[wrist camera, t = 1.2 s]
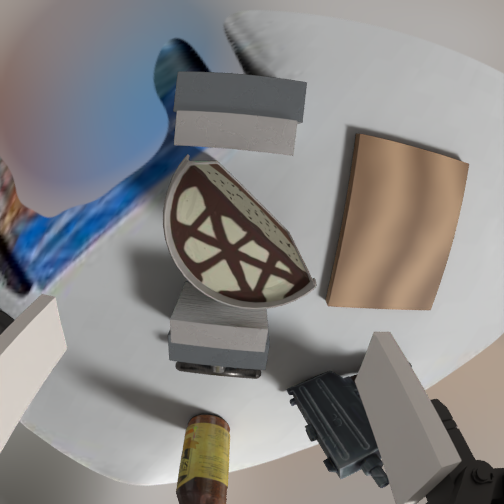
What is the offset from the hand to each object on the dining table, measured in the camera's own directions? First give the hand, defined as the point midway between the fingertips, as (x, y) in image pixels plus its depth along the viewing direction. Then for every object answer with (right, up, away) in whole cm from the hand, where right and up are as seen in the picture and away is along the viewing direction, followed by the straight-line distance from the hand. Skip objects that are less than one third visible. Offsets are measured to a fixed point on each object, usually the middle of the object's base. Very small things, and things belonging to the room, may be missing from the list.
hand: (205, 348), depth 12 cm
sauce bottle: (-4, -21, +28) cm, 35 cm away
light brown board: (+17, +6, +18) cm, 25 cm away
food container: (0, +7, +17) cm, 19 cm away
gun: (+14, -12, +24) cm, 30 cm away
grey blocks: (0, +5, +18) cm, 18 cm away
